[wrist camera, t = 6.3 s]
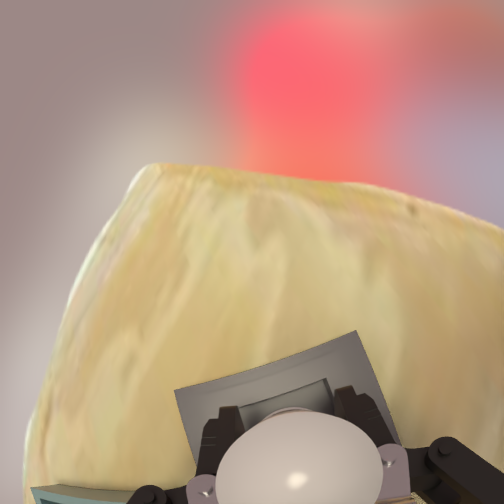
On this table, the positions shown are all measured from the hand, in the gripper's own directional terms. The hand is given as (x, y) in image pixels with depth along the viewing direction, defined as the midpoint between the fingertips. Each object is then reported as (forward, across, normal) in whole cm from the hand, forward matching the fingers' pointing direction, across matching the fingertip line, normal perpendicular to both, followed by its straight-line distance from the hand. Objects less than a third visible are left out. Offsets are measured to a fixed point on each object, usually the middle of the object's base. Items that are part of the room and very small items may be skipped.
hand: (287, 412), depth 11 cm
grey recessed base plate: (+3, 0, +5) cm, 6 cm away
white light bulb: (+2, 0, +5) cm, 5 cm away
